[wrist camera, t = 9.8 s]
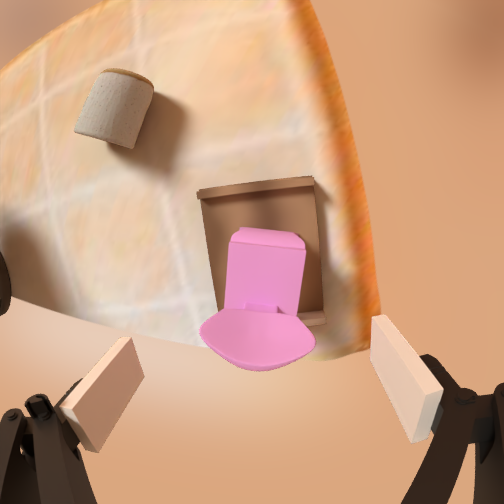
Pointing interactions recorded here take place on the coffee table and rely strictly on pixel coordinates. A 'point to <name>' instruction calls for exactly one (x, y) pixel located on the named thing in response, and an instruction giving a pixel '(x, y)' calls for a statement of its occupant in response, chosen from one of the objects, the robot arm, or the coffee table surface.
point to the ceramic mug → (116, 107)
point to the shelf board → (265, 217)
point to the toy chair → (261, 302)
